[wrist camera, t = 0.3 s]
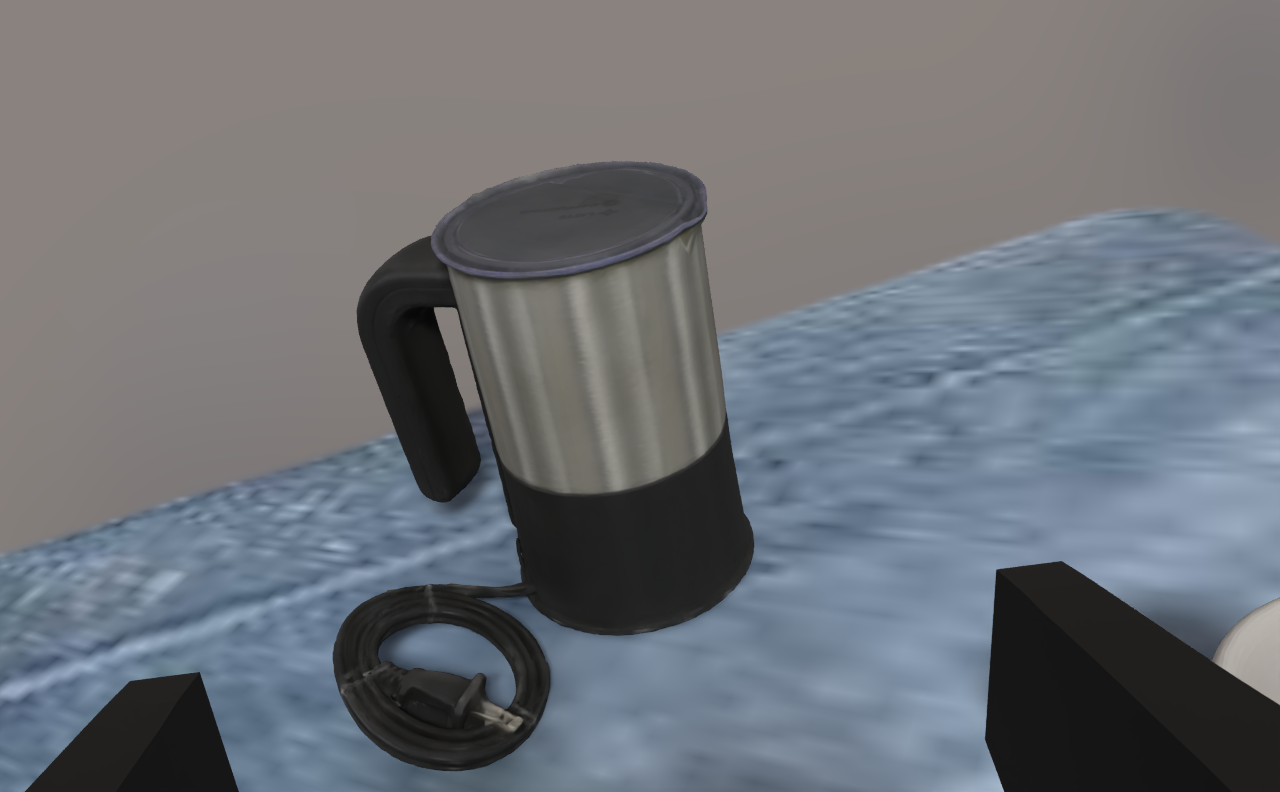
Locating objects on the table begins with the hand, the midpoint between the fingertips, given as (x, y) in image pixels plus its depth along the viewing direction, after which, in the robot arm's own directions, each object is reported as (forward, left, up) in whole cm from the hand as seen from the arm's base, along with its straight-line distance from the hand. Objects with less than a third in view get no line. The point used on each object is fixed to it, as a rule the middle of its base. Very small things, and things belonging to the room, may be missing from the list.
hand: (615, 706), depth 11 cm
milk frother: (+25, +5, -21) cm, 33 cm away
